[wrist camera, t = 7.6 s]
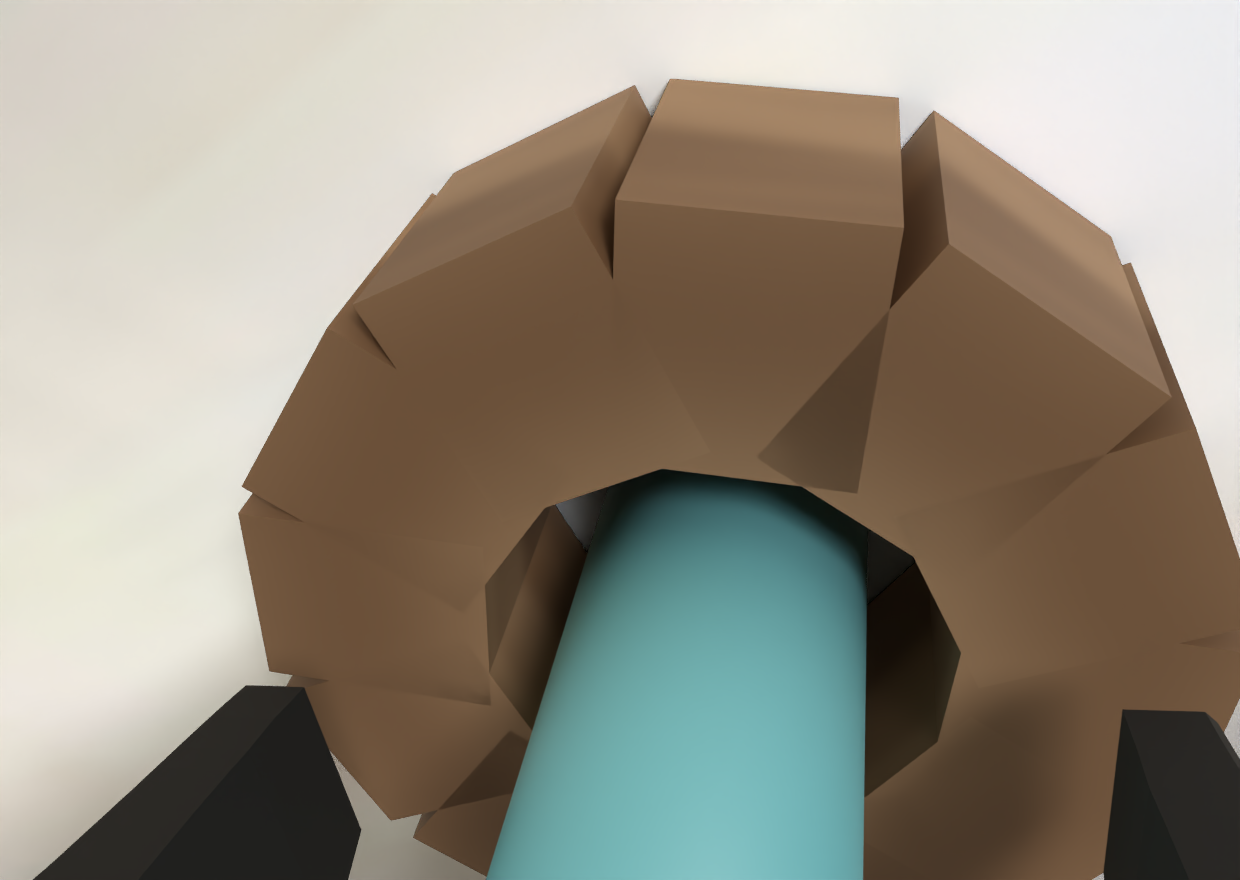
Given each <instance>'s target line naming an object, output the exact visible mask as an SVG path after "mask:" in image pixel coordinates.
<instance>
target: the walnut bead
mask: <svg viewBox="0 0 1240 880" xmlns="http://www.w3.org/2000/svg"><path fill="white" fill-rule="evenodd" d="M659 469H668V470H676V471H684V472H692V473H700V474H708V475H716V476H724V477H731V478H739V479H747V480H755V481H763V482H771V483H779V484H787V485H794V486H801V487H803V488H805V489H806V490H808V491H809V492H811V493H813V494H814V495H816V496H817V497H819V498H821V499H822V500H824V501H825V502H827V503H829V504H830V505H832V506H833V507H835V508H837V509H838V510H840V511H841V512H843V513H844V514H846V515H848V516H849V517H851V518H852V519H854V520H856V521H857V522H859V523H860V524H862V525H864V526H865V527H867V528H868V529H870V530H872V531H873V532H875V533H876V534H878V535H880V536H881V537H883V538H884V539H886V540H887V541H889V542H891V543H892V544H894V545H895V546H897V547H899V548H900V549H902V550H903V551H905V552H907V553H908V554H910V555H911V556H913V557H914V559H915V561H916V562H915V563H914V564H913V565H912V566H911V567H910V568H908V569H907V570H906V571H905V572H904V573H903V574H902V575H901V576H900V577H898V578H897V579H896V580H895V581H894V582H893V583H892V584H891V585H890V586H889V587H887V588H886V589H885V590H884V591H883V592H882V593H881V594H880V595H879V596H878V597H876V598H875V599H874V600H873V601H872V602H871V603H870V604H869V605H868V606H867V633H866V704H865V775H864V846H863V880H1092V879H1094V878H1095V877H1097V876H1099V875H1100V874H1102V873H1103V871H1104V862H1105V854H1106V845H1107V837H1108V828H1109V820H1110V811H1111V803H1112V794H1113V786H1114V777H1115V769H1116V760H1117V752H1118V743H1119V735H1120V726H1121V718H1122V709H1126V710H1163V711H1200V712H1206V713H1207V714H1208V715H1209V716H1211V717H1212V718H1213V719H1214V720H1215V721H1216V722H1217V723H1218V724H1219V726H1220V727H1221V729H1222V731H1223V732H1224V731H1225V729H1226V727H1227V724H1228V722H1229V720H1230V718H1231V716H1232V714H1233V712H1234V709H1235V707H1236V705H1237V703H1238V701H1239V699H1240V558H1239V555H1238V552H1237V549H1236V546H1235V543H1234V540H1233V537H1232V534H1231V531H1230V528H1229V525H1228V522H1227V519H1226V516H1225V513H1224V510H1223V507H1222V504H1221V501H1220V498H1219V495H1218V492H1217V490H1216V487H1215V484H1214V481H1213V478H1212V475H1211V472H1210V469H1209V466H1208V463H1207V460H1206V457H1205V454H1204V451H1203V448H1202V445H1201V442H1200V439H1199V436H1198V433H1197V430H1196V427H1195V425H1194V422H1193V420H1192V417H1191V415H1190V412H1189V409H1188V407H1187V404H1186V402H1185V399H1184V397H1183V394H1182V392H1181V389H1180V387H1179V384H1178V381H1177V379H1176V376H1175V374H1174V371H1173V369H1172V366H1171V364H1170V361H1169V359H1168V356H1167V354H1166V351H1165V348H1164V346H1163V343H1162V341H1161V338H1160V336H1159V333H1158V331H1157V328H1156V326H1155V323H1154V321H1153V318H1152V315H1151V313H1150V310H1149V308H1148V305H1147V303H1146V300H1145V298H1144V295H1143V293H1142V290H1141V287H1140V285H1139V282H1138V280H1137V277H1136V275H1135V272H1134V270H1133V267H1132V265H1131V263H1128V264H1125V265H1122V264H1121V262H1120V259H1119V257H1118V254H1117V251H1116V249H1115V246H1114V243H1113V241H1112V238H1111V236H1109V235H1108V234H1107V233H1105V232H1104V231H1102V230H1101V229H1100V228H1098V227H1097V226H1095V225H1094V224H1093V223H1091V222H1090V221H1088V220H1087V219H1086V218H1084V217H1083V216H1081V215H1080V214H1079V213H1077V212H1076V211H1074V210H1073V209H1072V208H1070V207H1069V206H1067V205H1066V204H1065V203H1063V202H1062V201H1060V200H1059V199H1058V198H1056V197H1055V196H1053V195H1052V194H1050V193H1049V192H1048V191H1046V190H1045V189H1043V188H1042V187H1041V186H1039V185H1038V184H1036V183H1035V182H1034V181H1032V180H1031V179H1029V178H1028V177H1027V176H1025V175H1024V174H1022V173H1021V172H1020V171H1018V170H1017V169H1015V168H1014V167H1013V166H1011V165H1010V164H1008V163H1007V162H1006V161H1004V160H1003V159H1001V158H1000V157H998V156H997V155H996V154H994V153H993V152H991V151H990V150H989V149H987V148H986V147H984V146H983V145H982V144H980V143H979V142H977V141H976V140H975V139H973V138H972V137H970V136H969V135H968V134H966V133H965V132H963V131H962V130H961V129H959V128H958V127H956V126H955V125H954V124H952V123H951V122H949V121H948V120H947V119H945V118H944V117H942V116H941V115H939V114H938V113H937V112H935V111H933V112H932V114H931V115H930V116H929V117H928V118H927V120H926V121H925V122H924V123H923V124H922V126H921V127H920V128H919V129H918V131H917V132H916V133H915V134H914V135H913V137H912V138H911V139H910V140H909V141H908V143H907V144H906V145H905V146H904V148H903V149H902V150H901V144H900V121H899V98H894V97H882V96H870V95H858V94H847V93H835V92H823V91H811V90H799V89H787V88H775V87H763V86H751V85H739V84H728V83H716V82H704V81H692V80H680V79H670V80H669V82H668V85H667V87H666V89H665V91H664V93H663V95H662V98H661V100H660V102H659V104H658V106H657V109H656V111H655V113H654V115H653V117H651V116H650V114H649V112H648V110H647V108H646V106H645V104H644V102H643V100H642V98H641V96H640V94H639V92H638V90H637V88H636V86H635V85H634V86H632V87H630V88H628V89H626V90H624V91H622V92H620V93H618V94H616V95H613V96H611V97H609V98H607V99H605V100H603V101H601V102H599V103H597V104H595V105H593V106H591V107H589V108H587V109H585V110H583V111H581V112H578V113H576V114H574V115H572V116H570V117H568V118H566V119H564V120H562V121H560V122H558V123H556V124H554V125H552V126H550V127H548V128H546V129H543V130H541V131H539V132H537V133H535V134H533V135H531V136H529V137H527V138H525V139H523V140H521V141H519V142H517V143H515V144H513V145H511V146H508V147H506V148H504V149H502V150H500V151H498V152H496V153H494V154H492V155H490V156H488V157H486V158H484V159H482V160H480V161H478V162H476V163H473V164H471V165H469V166H467V167H465V168H463V169H461V170H459V171H457V172H455V173H454V174H453V175H452V176H451V177H450V179H449V180H448V181H447V183H446V184H445V185H444V186H443V188H442V189H441V190H440V192H439V193H438V194H437V196H436V195H434V194H433V193H432V194H431V195H430V197H429V198H428V199H427V201H426V202H425V203H424V204H423V206H422V207H421V208H420V210H419V211H418V212H417V213H416V215H415V216H414V217H413V219H412V220H411V221H410V222H409V224H408V225H407V226H406V227H405V229H404V230H403V231H402V233H401V234H400V235H399V236H398V238H397V239H396V240H395V242H394V243H393V244H392V245H391V247H390V248H389V249H388V251H387V252H386V253H385V254H384V256H383V257H382V258H381V259H380V261H379V262H378V263H377V265H376V266H375V267H374V268H373V270H372V271H371V272H370V274H369V275H368V276H367V277H366V279H365V280H364V281H363V283H362V284H361V285H360V286H359V288H358V289H357V290H356V292H355V293H354V294H353V295H352V297H351V298H350V299H349V300H348V302H347V303H346V304H345V306H344V307H343V308H342V309H341V311H340V312H339V313H338V315H337V316H336V317H335V318H334V320H333V321H332V322H331V324H330V325H329V326H328V327H327V329H326V331H325V333H324V335H323V337H322V338H321V340H320V342H319V344H318V346H317V348H316V350H315V351H314V353H313V355H312V357H311V359H310V361H309V363H308V364H307V366H306V368H305V370H304V372H303V374H302V376H301V377H300V379H299V381H298V383H297V385H296V387H295V389H294V390H293V392H292V394H291V396H290V398H289V400H288V402H287V403H286V405H285V407H284V409H283V411H282V413H281V415H280V416H279V418H278V420H277V422H276V424H275V426H274V428H273V429H272V431H271V433H270V435H269V437H268V439H267V441H266V442H265V444H264V446H263V448H262V450H261V452H260V454H259V455H258V457H257V459H256V461H255V463H254V465H253V467H252V468H251V470H250V472H249V474H248V476H247V478H246V480H245V481H244V483H243V485H242V487H243V488H245V489H247V490H249V491H250V492H252V493H253V494H252V495H251V496H250V498H249V499H248V501H247V502H246V503H245V505H244V506H243V508H242V509H241V510H240V512H239V513H238V515H239V520H240V525H241V530H242V535H243V540H244V545H245V550H246V555H247V560H248V565H249V570H250V575H251V580H252V585H253V590H254V595H255V601H256V606H257V611H258V616H259V621H260V626H261V631H262V636H263V641H264V646H265V651H266V656H267V661H268V666H269V671H271V672H277V673H283V674H290V675H293V676H292V677H291V679H290V681H289V683H288V685H287V686H286V687H304V688H305V691H306V693H307V696H308V698H309V701H310V703H311V706H312V708H313V711H314V713H315V716H316V718H317V721H318V723H319V726H320V728H321V731H322V733H323V736H324V738H325V741H326V743H327V746H328V748H329V750H330V751H331V752H332V753H333V754H334V755H335V757H336V758H337V759H338V760H339V761H340V762H341V764H342V765H343V766H344V767H345V768H346V769H347V770H348V772H349V773H350V774H351V775H352V776H353V777H354V779H355V780H356V781H357V782H358V783H359V784H360V785H361V787H362V788H363V789H364V790H365V791H366V792H367V794H368V795H369V796H370V797H371V798H372V799H373V800H374V802H375V803H376V804H377V805H378V806H379V807H380V809H381V810H382V811H383V812H384V813H385V814H386V815H387V817H388V818H389V819H390V820H396V819H400V818H405V817H409V816H413V815H418V814H422V815H421V818H420V821H419V823H418V826H417V828H416V831H415V834H414V836H413V838H415V839H417V840H418V841H420V842H422V843H424V844H426V845H428V846H430V847H432V848H434V849H436V850H437V851H439V852H441V853H443V854H445V855H447V856H449V857H451V858H453V859H454V860H456V861H458V862H460V863H462V864H464V865H466V866H468V867H470V868H472V869H473V870H475V871H477V872H479V873H481V874H483V875H485V876H487V874H488V871H489V868H490V865H491V862H492V858H493V855H494V852H495V849H496V845H497V842H498V839H499V836H500V833H501V829H502V826H503V823H504V820H505V817H506V813H507V810H508V807H509V804H510V801H511V797H512V794H513V791H514V788H515V785H516V781H517V778H518V775H519V772H520V769H521V765H522V762H523V759H524V756H525V753H526V749H527V746H528V743H529V740H530V736H531V733H532V730H533V727H534V724H535V720H536V717H537V714H538V711H539V708H540V704H541V701H542V698H543V695H544V692H545V688H546V685H547V682H548V679H549V676H550V672H551V669H552V666H553V663H554V660H555V656H556V653H557V650H558V647H559V644H560V640H561V637H562V634H563V631H564V627H565V624H566V621H567V618H568V615H569V611H570V608H571V605H572V602H573V599H574V595H575V592H576V589H577V586H578V583H579V579H580V576H581V573H582V570H583V567H584V563H585V560H586V557H587V553H586V551H585V550H584V548H583V547H582V545H581V544H580V542H579V541H578V539H577V537H576V536H575V534H574V533H573V531H572V530H571V528H570V527H569V525H568V524H567V522H566V521H565V519H564V518H563V516H562V515H561V513H560V512H559V510H558V509H557V507H556V505H555V504H558V503H561V502H564V501H567V500H570V499H573V498H576V497H579V496H582V495H585V494H588V493H591V492H594V491H597V490H600V489H603V488H606V487H608V486H611V485H614V484H617V483H620V482H623V481H626V480H629V479H632V478H635V477H638V476H641V475H644V474H647V473H650V472H653V471H656V470H659Z"/></svg>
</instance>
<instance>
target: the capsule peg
mask: <svg viewBox="0 0 1240 880" xmlns="http://www.w3.org/2000/svg"><path fill="white" fill-rule="evenodd" d="M867 562H868V528H867V527H865V526H864V525H862V524H860V523H859V522H857V521H856V520H854V519H852V518H851V517H849V516H848V515H846V514H844V513H843V512H841V511H840V510H838V509H837V508H835V507H833V506H832V505H830V504H829V503H827V502H825V501H824V500H822V499H821V498H819V497H817V496H816V495H814V494H813V493H811V492H809V491H808V490H806V489H805V488H803V487H801V486H794V485H787V484H779V483H771V482H763V481H755V480H747V479H739V478H731V477H724V476H716V475H708V474H700V473H692V472H684V471H676V470H668V469H659V470H656V471H653V472H650V473H647V474H644V475H641V476H638V477H635V478H632V479H629V480H626V481H623V482H620V483H617V484H614V485H611V486H608V490H607V493H606V496H605V499H604V502H603V506H602V509H601V512H600V515H599V518H598V522H597V525H596V528H595V531H594V535H593V538H592V541H591V544H590V547H589V551H588V554H587V557H586V560H585V563H584V567H583V570H582V573H581V576H580V579H579V583H578V586H577V589H576V592H575V595H574V599H573V602H572V605H571V608H570V611H569V615H568V618H567V621H566V624H565V627H564V631H563V634H562V637H561V640H560V644H559V647H558V650H557V653H556V656H555V660H554V663H553V666H552V669H551V672H550V676H549V679H548V682H547V685H546V688H545V692H544V695H543V698H542V701H541V704H540V708H539V711H538V714H537V717H536V720H535V724H534V727H533V730H532V733H531V736H530V740H529V743H528V746H527V749H526V753H525V756H524V759H523V762H522V765H521V769H520V772H519V775H518V778H517V781H516V785H515V788H514V791H513V794H512V797H511V801H510V804H509V807H508V810H507V813H506V817H505V820H504V823H503V826H502V829H501V833H500V836H499V839H498V842H497V845H496V849H495V852H494V855H493V858H492V862H491V865H490V868H489V871H488V874H487V878H486V880H863V846H864V775H865V704H866V633H867Z"/></svg>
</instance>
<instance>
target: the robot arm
mask: <svg viewBox="0 0 1240 880" xmlns="http://www.w3.org/2000/svg"><path fill="white" fill-rule="evenodd" d="M360 833H361V828H360V826H359V823H358V821H357V818H356V816H355V813H354V811H353V808H352V806H351V803H350V801H349V798H348V796H347V793H346V791H345V788H344V786H343V783H342V781H341V778H340V776H339V773H338V771H337V768H336V766H335V763H334V761H333V758H332V756H331V753H330V751H329V748H328V746H327V743H326V741H325V738H324V736H323V733H322V731H321V728H320V726H319V723H318V721H317V718H316V716H315V713H314V711H313V708H312V706H311V703H310V701H309V698H308V696H307V693H306V691H305V688H304V687H284V686H247V685H246V686H245V687H244V688H243V689H241V690H240V691H239V692H238V693H237V694H236V695H235V696H233V697H232V698H231V699H230V700H229V701H228V702H226V703H225V704H224V705H223V706H222V707H221V708H220V709H219V710H218V711H216V712H215V713H214V714H213V715H212V716H211V717H210V718H209V719H208V720H207V721H205V722H204V723H203V724H202V725H201V726H200V727H199V728H198V729H197V730H196V731H195V732H194V733H193V734H191V735H190V736H189V737H188V738H187V739H186V740H185V741H184V742H183V743H182V744H181V745H180V746H179V747H177V748H176V749H175V750H174V751H173V752H172V753H171V754H170V755H169V756H168V757H167V758H166V759H165V760H164V761H162V762H161V763H160V764H159V765H158V766H157V767H156V768H155V769H154V770H153V771H152V772H151V773H150V774H149V775H148V776H146V777H145V778H144V779H143V780H142V781H141V782H140V783H139V784H138V785H137V786H136V787H135V788H134V789H133V790H131V791H130V792H129V793H128V794H127V795H126V796H125V797H124V798H123V799H122V800H121V801H119V802H118V803H117V804H116V805H115V806H114V807H113V808H112V809H111V810H110V811H109V812H107V813H106V814H105V815H104V816H103V817H102V818H101V819H100V820H99V821H98V822H97V823H95V824H94V825H93V826H92V827H91V828H90V829H89V830H88V831H87V832H86V833H84V834H83V835H82V836H81V837H80V838H79V839H78V840H77V841H76V842H75V843H74V844H72V845H71V846H70V847H69V848H68V849H67V850H66V851H65V852H64V853H63V854H62V855H60V856H59V857H58V858H57V859H56V860H55V861H54V862H53V863H52V864H50V865H49V866H48V867H47V868H46V869H45V870H44V871H42V872H41V873H40V874H39V875H38V876H37V877H35V878H34V879H33V880H348V878H349V874H350V870H351V867H352V863H353V859H354V855H355V851H356V848H357V844H358V840H359V836H360ZM1103 873H1104V880H1240V759H1239V757H1238V755H1237V754H1236V752H1235V751H1234V749H1233V747H1232V746H1231V744H1230V742H1229V741H1228V739H1227V737H1226V736H1225V734H1224V732H1223V731H1222V729H1221V727H1220V726H1219V724H1218V723H1217V722H1216V721H1215V720H1214V719H1213V718H1212V717H1211V716H1209V715H1208V714H1207V713H1206V712H1200V711H1163V710H1126V709H1122V718H1121V726H1120V735H1119V743H1118V752H1117V760H1116V769H1115V777H1114V786H1113V794H1112V803H1111V811H1110V820H1109V828H1108V837H1107V845H1106V854H1105V862H1104V871H1103Z"/></svg>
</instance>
